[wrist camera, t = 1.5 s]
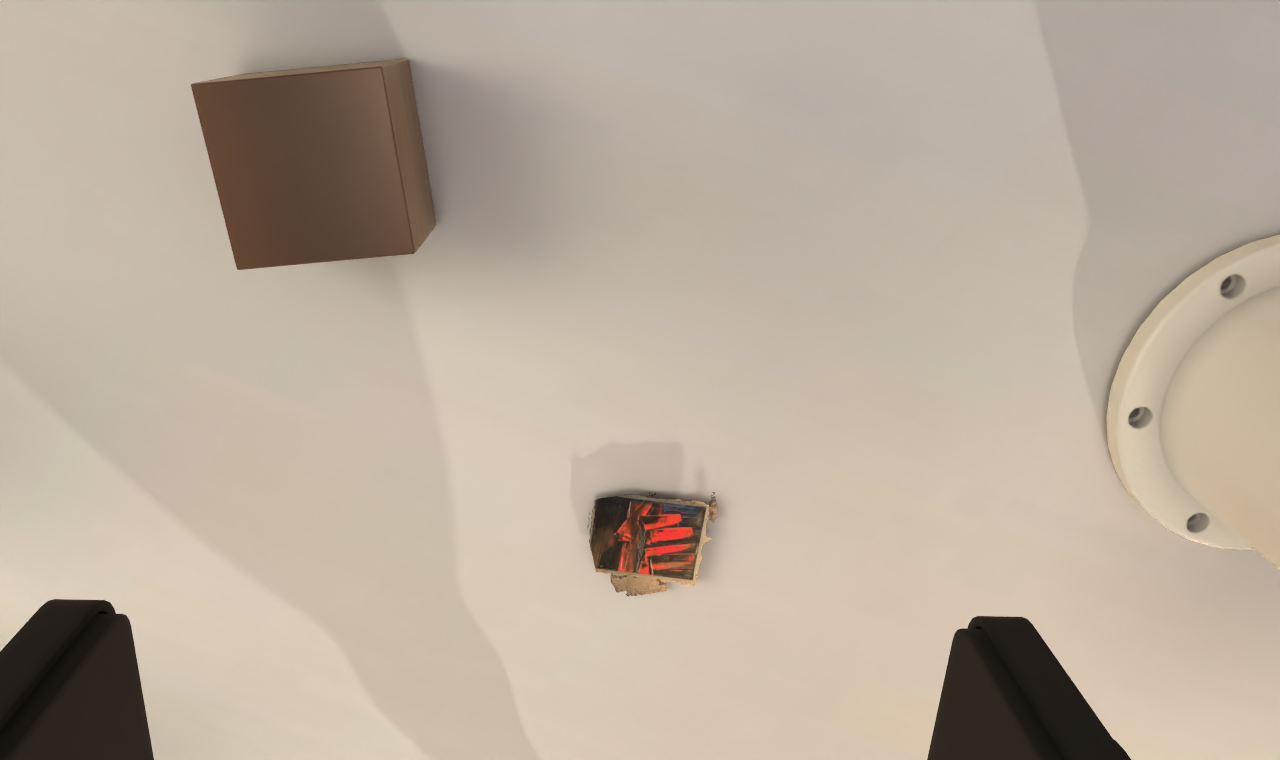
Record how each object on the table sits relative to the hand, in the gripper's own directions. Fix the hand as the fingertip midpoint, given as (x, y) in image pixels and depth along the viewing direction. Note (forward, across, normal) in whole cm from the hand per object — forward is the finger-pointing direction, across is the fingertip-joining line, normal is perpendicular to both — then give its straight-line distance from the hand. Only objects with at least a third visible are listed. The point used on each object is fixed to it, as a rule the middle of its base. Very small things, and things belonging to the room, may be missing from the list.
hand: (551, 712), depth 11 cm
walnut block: (+24, +8, -2) cm, 26 cm away
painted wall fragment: (+24, -3, +12) cm, 27 cm away
